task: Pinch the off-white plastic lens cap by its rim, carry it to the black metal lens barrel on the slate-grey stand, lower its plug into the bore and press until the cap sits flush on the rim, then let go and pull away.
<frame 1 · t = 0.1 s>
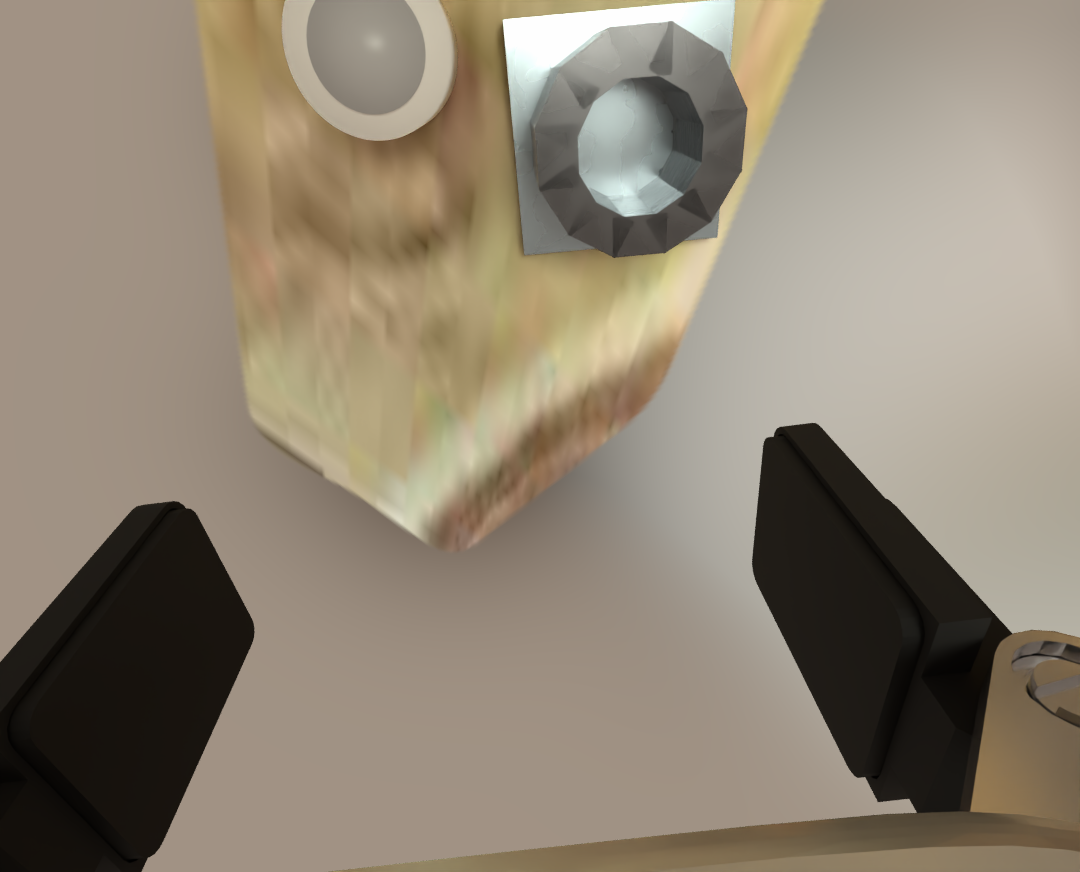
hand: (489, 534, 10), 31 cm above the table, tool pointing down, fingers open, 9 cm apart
lens cap: (395, 54, 32), on the table
lens barrel: (615, 136, 35), on the table
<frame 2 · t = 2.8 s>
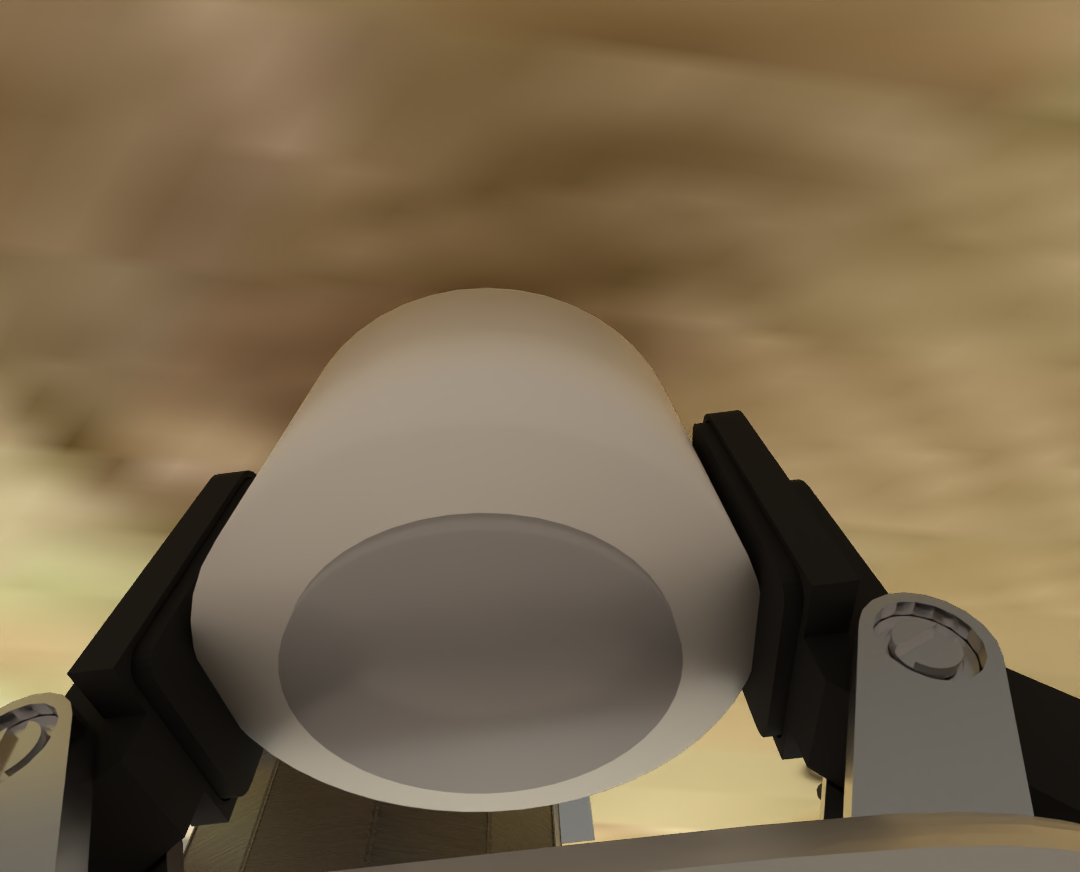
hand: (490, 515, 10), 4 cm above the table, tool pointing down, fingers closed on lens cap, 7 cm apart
lens cap: (495, 398, 14), on the table, touching gripper
lens barrel: (404, 724, 20), on the table
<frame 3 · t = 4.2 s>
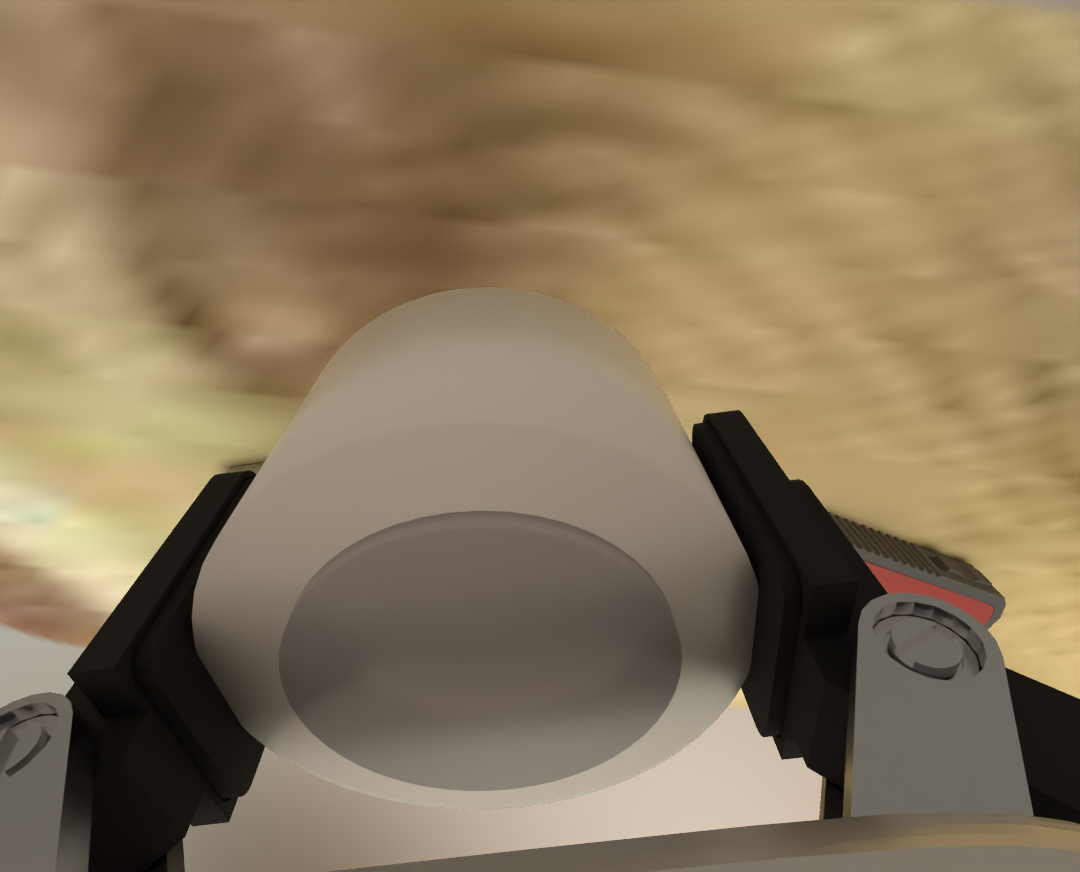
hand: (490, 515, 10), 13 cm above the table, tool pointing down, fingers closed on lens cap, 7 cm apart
lens cap: (495, 397, 14), point 9 cm above the table, touching gripper
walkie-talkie: (883, 602, 33), on the table
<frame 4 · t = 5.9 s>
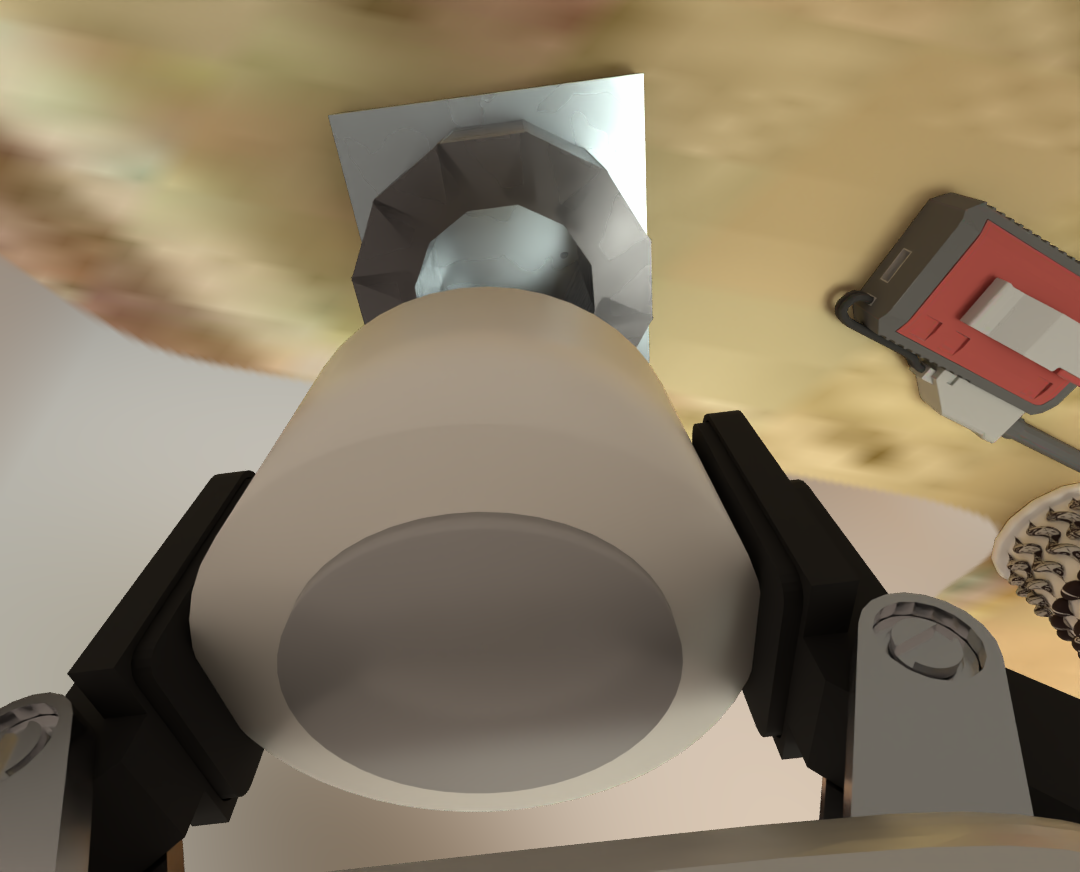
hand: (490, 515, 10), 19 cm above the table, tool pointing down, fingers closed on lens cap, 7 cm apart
lens cap: (495, 398, 14), point 15 cm above the table, touching gripper
decorative candle: (1058, 533, 38), on the table
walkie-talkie: (997, 340, 31), on the table
lens barrel: (507, 246, 27), on the table
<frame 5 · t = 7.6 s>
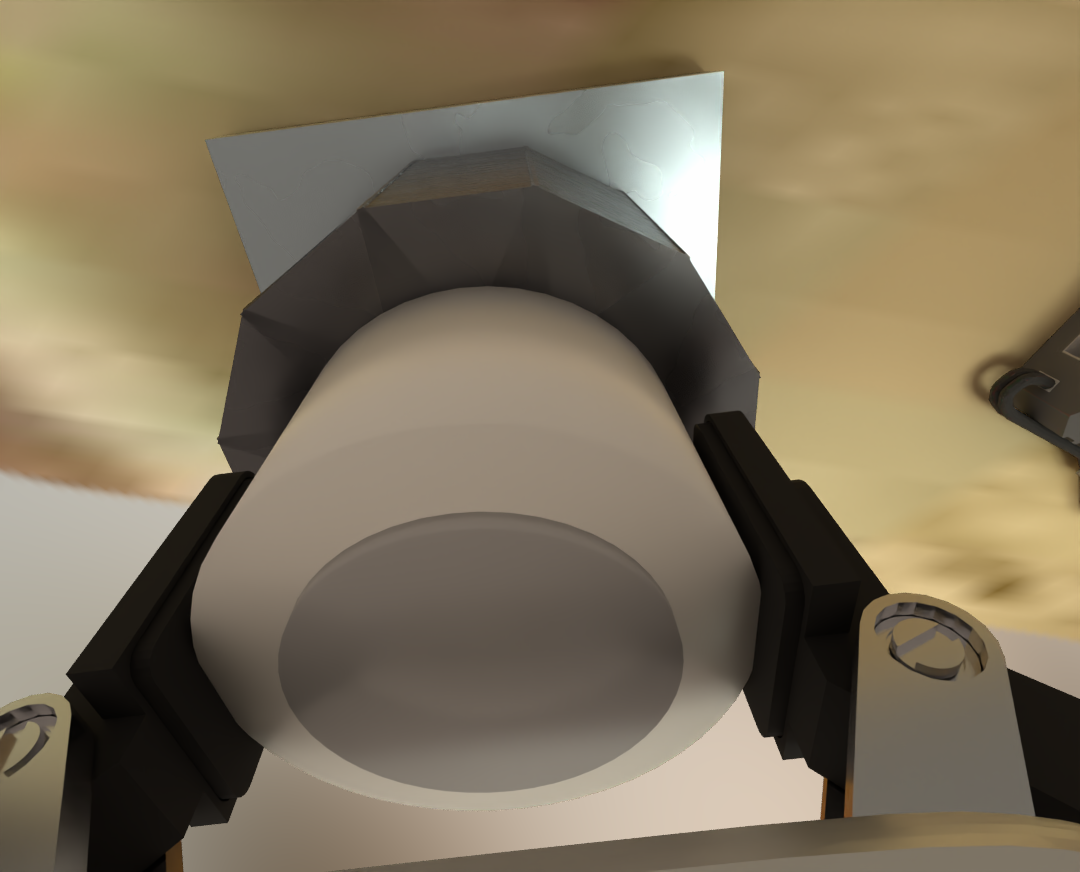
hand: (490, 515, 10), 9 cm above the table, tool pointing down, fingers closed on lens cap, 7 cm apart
lens cap: (495, 397, 14), point 5 cm above the table, touching gripper, lens barrel
lens barrel: (501, 328, 18), on the table
when the fingers open (9 cm above the table, at t = 8.9 s): lens cap stays where it is, resting on lens barrel.
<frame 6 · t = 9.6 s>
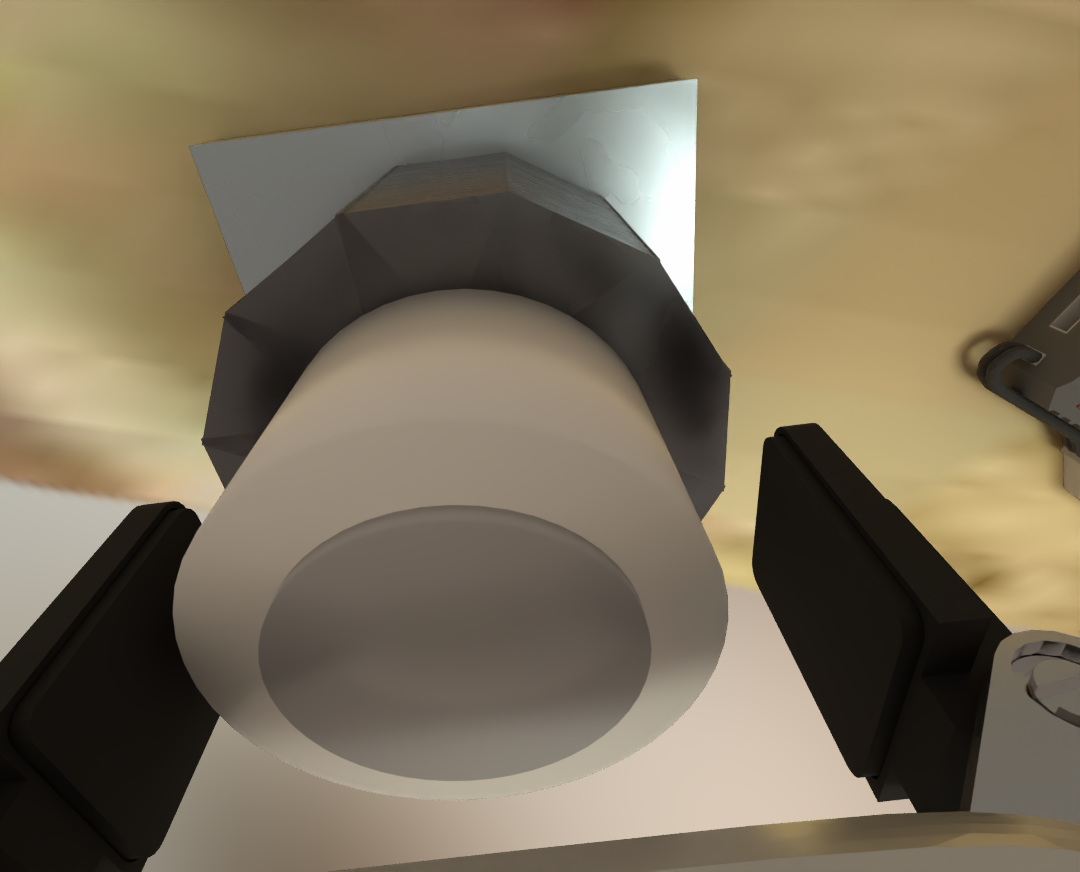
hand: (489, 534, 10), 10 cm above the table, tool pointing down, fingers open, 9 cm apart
lens cap: (478, 397, 14), point 4 cm above the table, touching lens barrel
lens barrel: (484, 330, 18), on the table
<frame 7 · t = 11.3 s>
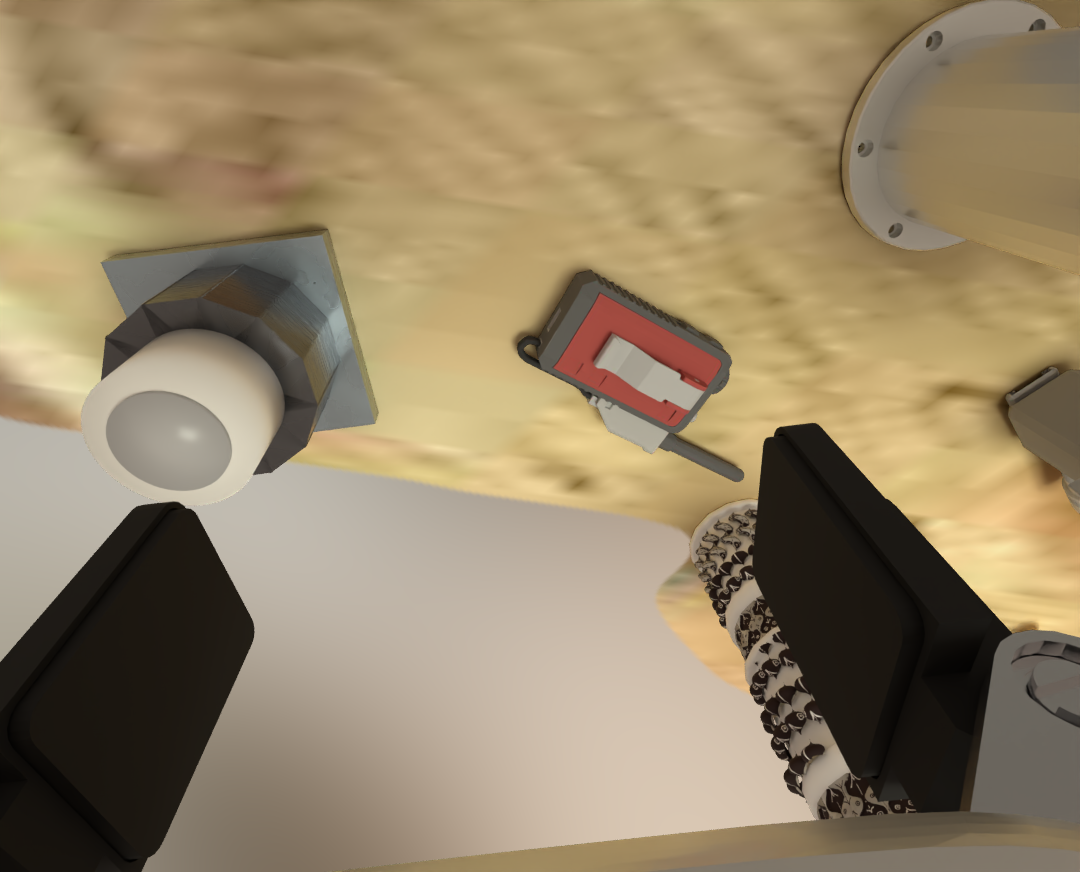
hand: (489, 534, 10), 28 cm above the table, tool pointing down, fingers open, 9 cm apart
lens cap: (231, 371, 33), point 4 cm above the table, touching lens barrel
decorative candle: (738, 538, 49), on the table
camera: (1047, 428, 46), on the table
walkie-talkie: (655, 377, 41), on the table
lens barrel: (258, 341, 37), on the table
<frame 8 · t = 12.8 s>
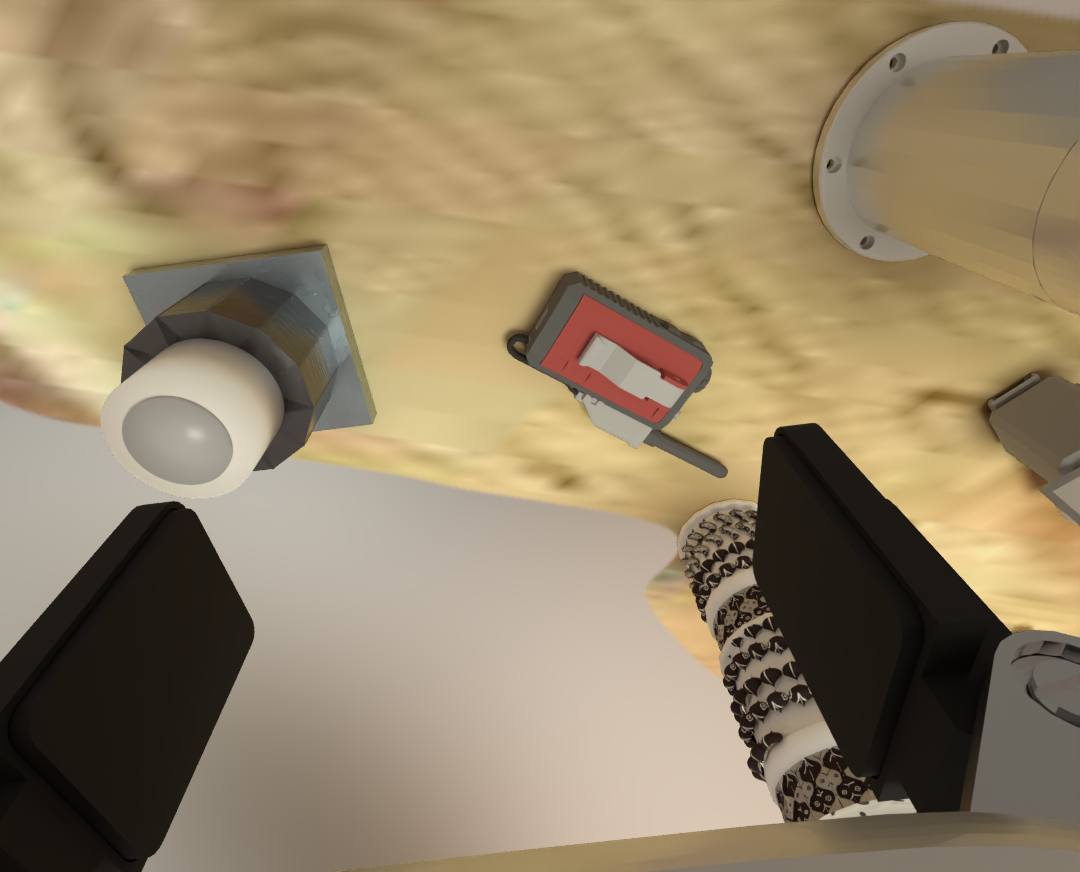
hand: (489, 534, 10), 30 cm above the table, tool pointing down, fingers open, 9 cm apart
lens cap: (238, 375, 36), point 4 cm above the table, touching lens barrel
decorative candle: (725, 537, 51), on the table
camera: (1032, 433, 47), on the table
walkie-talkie: (641, 375, 43), on the table
lens barrel: (265, 346, 40), on the table
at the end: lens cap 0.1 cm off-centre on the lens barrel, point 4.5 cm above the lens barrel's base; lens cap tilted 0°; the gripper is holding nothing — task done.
